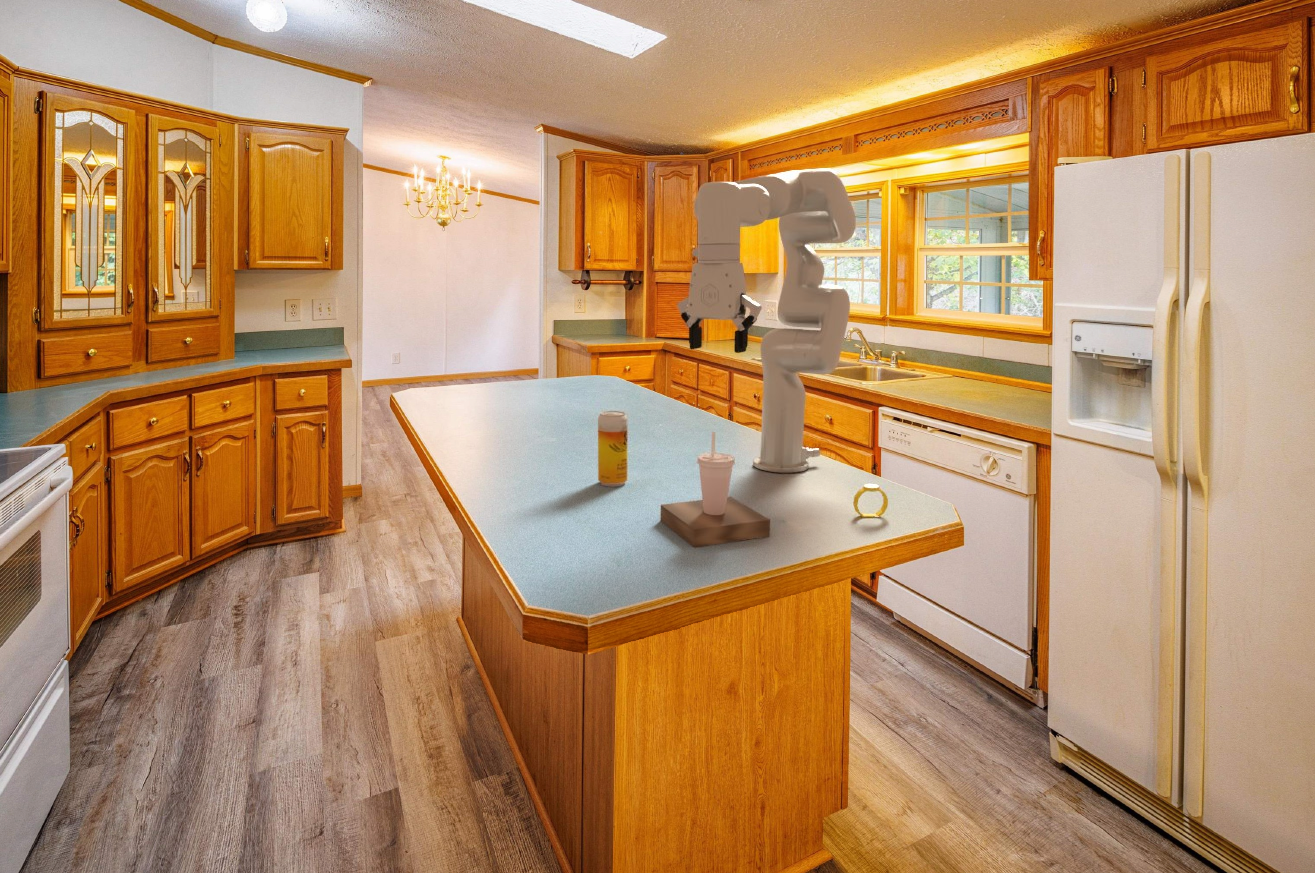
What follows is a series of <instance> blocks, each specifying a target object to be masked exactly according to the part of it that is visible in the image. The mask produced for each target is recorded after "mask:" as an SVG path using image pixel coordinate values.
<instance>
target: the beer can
mask: <svg viewBox="0 0 1315 873" xmlns="http://www.w3.org/2000/svg"><path fill="white" fill-rule="evenodd" d="M597 458H598V459H597V461H598V462H597V463H598V464H597V466H598V467H597V468H598V469H597V470H598V472H597V474H598V477H597V478H598V481H599V482H600V485H602V486H604V487H610V488H611V487H613V488H614V487H621V486H624V485H625V484H626V482H627V481H628V416H627V414H626V412H624V411H619V410H606V411H605V410H604V411H601V412H599V415H598V418H597Z"/></svg>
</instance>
